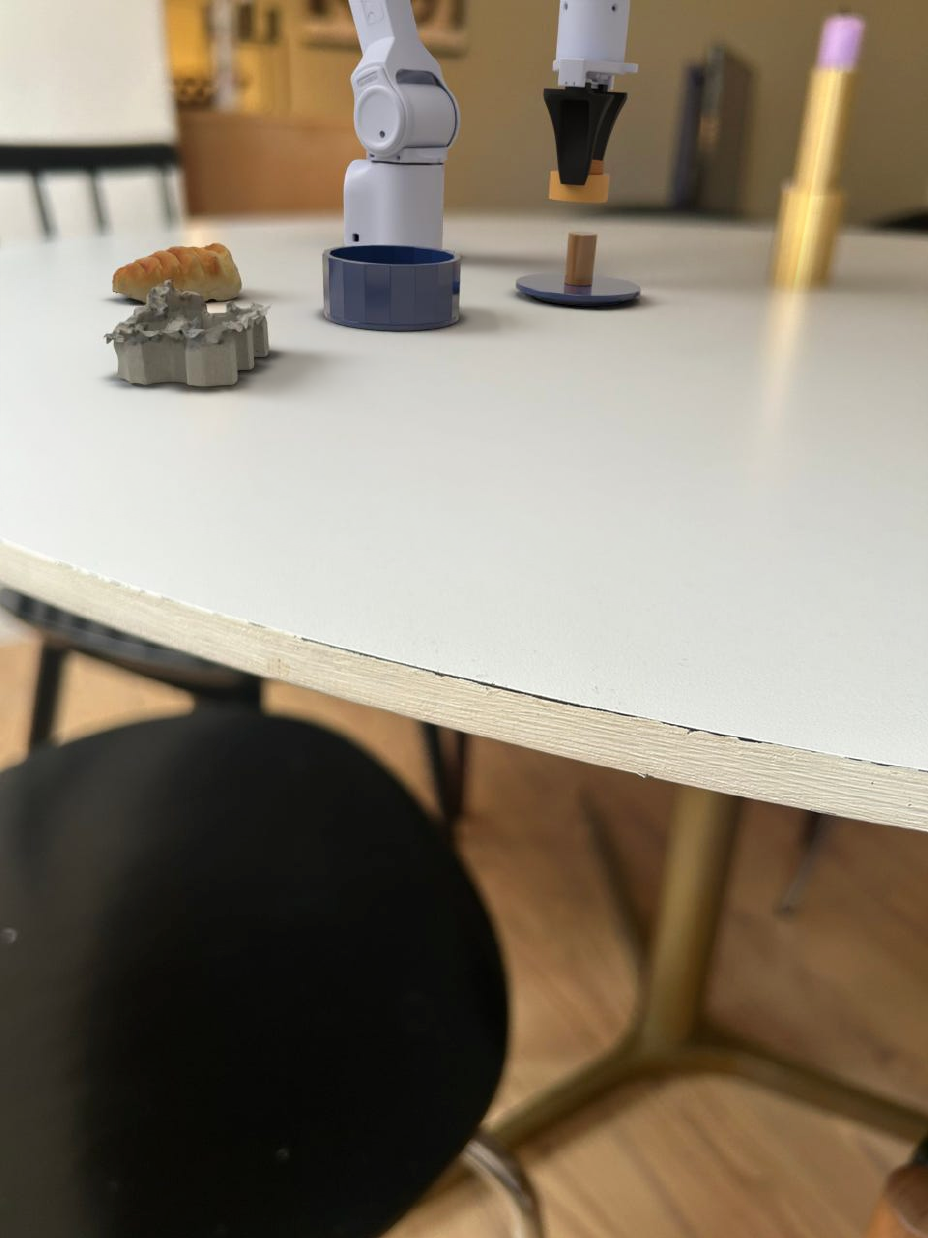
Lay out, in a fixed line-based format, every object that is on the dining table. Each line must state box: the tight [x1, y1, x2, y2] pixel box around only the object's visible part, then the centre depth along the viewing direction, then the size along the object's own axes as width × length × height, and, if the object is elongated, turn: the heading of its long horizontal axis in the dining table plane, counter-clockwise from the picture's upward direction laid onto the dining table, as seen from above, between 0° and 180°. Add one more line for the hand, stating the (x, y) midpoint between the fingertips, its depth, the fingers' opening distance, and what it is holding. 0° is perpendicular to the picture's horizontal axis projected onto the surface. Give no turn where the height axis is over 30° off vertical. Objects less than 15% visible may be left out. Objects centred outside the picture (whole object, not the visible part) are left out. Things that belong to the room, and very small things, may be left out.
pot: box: [321, 244, 462, 332], centre depth 71 cm, size 10×10×4 cm
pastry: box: [111, 242, 243, 304], centre depth 74 cm, size 9×7×4 cm
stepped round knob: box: [548, 160, 611, 204], centre depth 85 cm, size 5×5×3 cm
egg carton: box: [103, 279, 272, 387], centre depth 56 cm, size 11×8×4 cm
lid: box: [515, 231, 642, 307], centre depth 81 cm, size 11×11×5 cm
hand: (578, 182), depth 85 cm, fingers closed on stepped round knob, 5 cm apart
